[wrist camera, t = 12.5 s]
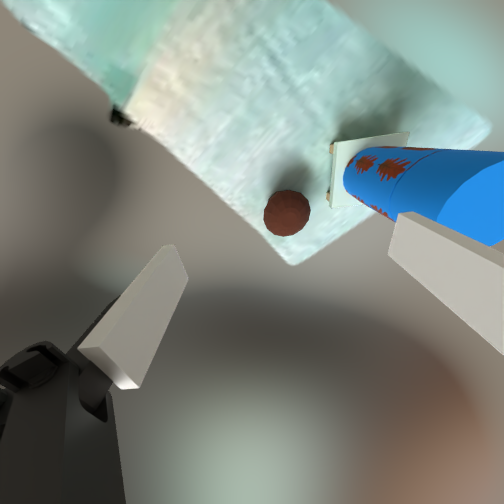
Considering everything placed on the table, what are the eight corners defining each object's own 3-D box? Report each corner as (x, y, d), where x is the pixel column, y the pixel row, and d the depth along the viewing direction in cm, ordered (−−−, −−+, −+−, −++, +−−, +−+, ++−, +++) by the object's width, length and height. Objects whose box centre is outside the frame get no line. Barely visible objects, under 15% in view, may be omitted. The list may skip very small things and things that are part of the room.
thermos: (331, 181, 42) (412, 225, 21) (369, 134, 38) (525, 127, 16) (364, 206, 45) (465, 267, 24) (403, 165, 41) (573, 195, 19)
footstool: (327, 142, 44) (337, 142, 38) (390, 132, 43) (409, 131, 37) (323, 201, 51) (331, 208, 46) (377, 194, 50) (392, 201, 45)
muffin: (276, 176, 48) (282, 184, 39) (312, 196, 50) (324, 208, 42) (254, 216, 53) (255, 231, 44) (288, 232, 56) (294, 249, 47)
